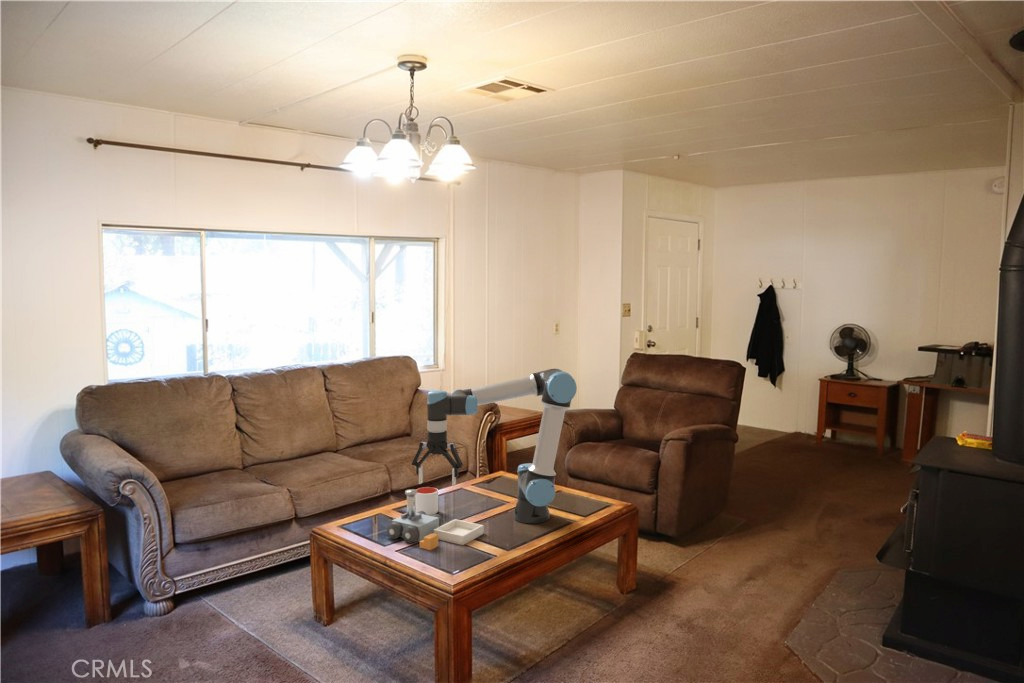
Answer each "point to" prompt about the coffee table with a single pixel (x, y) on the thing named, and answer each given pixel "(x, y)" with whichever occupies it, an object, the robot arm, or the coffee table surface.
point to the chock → (429, 542)
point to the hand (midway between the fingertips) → (437, 484)
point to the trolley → (414, 526)
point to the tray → (459, 531)
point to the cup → (427, 500)
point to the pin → (411, 503)
